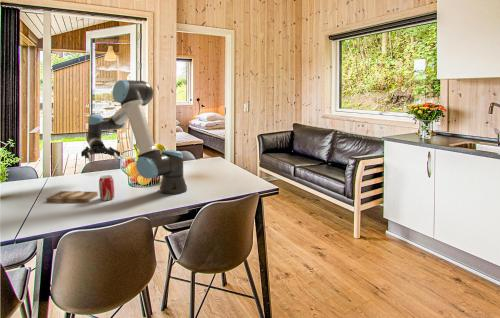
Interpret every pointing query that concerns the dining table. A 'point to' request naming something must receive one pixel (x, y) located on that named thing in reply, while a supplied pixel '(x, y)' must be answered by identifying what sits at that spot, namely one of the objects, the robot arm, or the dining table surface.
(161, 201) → the dining table surface
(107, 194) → the soda can
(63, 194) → the drinks board
